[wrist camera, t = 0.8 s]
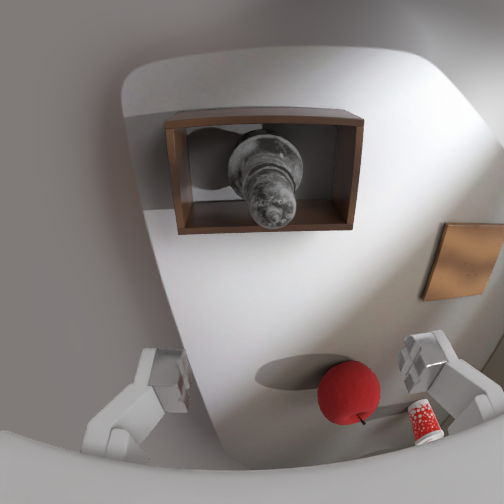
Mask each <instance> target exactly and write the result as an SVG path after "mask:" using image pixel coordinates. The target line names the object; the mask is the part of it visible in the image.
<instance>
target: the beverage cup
mask: <svg viewBox="0 0 504 504" xmlns="http://www.w3.org/2000/svg"><path fill="white" fill-rule="evenodd" d="M408 412H409V416H410V419H411V423H412V427H413V431H414V436H415V440H416V442H415V445H416V446H417V445H421V444H424V443H428V442H431V441H434V440H437V439H440V438H442V437H443V436H444V432H443V430H441V428H440V426H439V424H438V422H437V420H436V417H435V415H434V413H433V411H432V409H431V406H430V404H429V402H428V400H427V399H422V400H419V401H416V402H414V403H413V404H411V405H410V406H409V407H408Z"/></svg>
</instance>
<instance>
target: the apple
mask: <svg viewBox="0 0 504 504" xmlns="http://www.w3.org/2000/svg"><path fill="white" fill-rule="evenodd" d="M317 396H318V404H319V407H320V409H321V411H322V413H323V414H324V416H325V417H326V418H327V419H328V420H329V421H331V422H332V423H335V424H339V425H349V424H354V423H357V422H360V421H361V422H362V424H363V425H365V424H366V423H365V422H364V421H363V420H365V419H366V418H368V417H369V416H370V415H371V414H372V413H373V412H374V411H375V410H376V408H377V406H378V404H379V400H380V384H379V381H378V379H377V377H376V375H375V374H374V373H373V372H372V371H371V369H370V368H368V367H367V366H366V365H364V364H363V363H361V362H359V361H346V362H343V363H340V364H338V365H336V366H334V367H332V368H330V369H329V370H328V371H327V373H326V374H325V375H324V376H323V378H322V380H321V382H320V384H319V387H318V395H317Z"/></svg>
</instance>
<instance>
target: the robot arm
mask: <svg viewBox="0 0 504 504" xmlns="http://www.w3.org/2000/svg"><path fill="white" fill-rule="evenodd" d="M404 343H405V346H404V347H403V348H402V349H401V350H400V352H399V355H398V365H399V369H400V371H401V373H403V374H404V375H405V376H406V377H405V380H404V382H405V384H406V387H407V390H408V392H409V394H414V393H419V392H424V391H427V392H428V393H429V394H430V395H431V396H432V397H433V398H434V399H435V400H436V401H437V402H438V403H439V404H440V405H441V406H442V407H443V408H444V409H445V410H446V411H448V412H449V413H450V414H451V415H452V416H453V417H454V418H455V419H456V420H455V421H454V422H453V423H452V424H451V425H450V426H449V428H448V432H449V436H447V437H444V438H440V439H437V440H434V441H431V442H428V443H424V444H421V445H417V446H414V447H410V448H406V449H403V450H399V451H395V452H391V453H386V454H382V455H377V456H372V457H367V458H363V459H357V460H351V461H345V462H339V463H332V464H325V465H317V466H309V467H299V468H287V469H272V470H243V471H224V470H222V471H220V470H195V469H181V468H169V467H158V466H151V465H149V460H150V459H149V457H148V456H147V455H146V453H145V452H144V451H143V450H142V449H141V447H140V446H139V445H140V444H141V443H142V442H143V440H144V439H145V438H146V437H147V435H148V434H149V433H150V432H151V430H152V429H153V428H154V427H155V426H156V424H157V423H158V422H159V421H160V419H161V418H162V417H163V416H164V414H165V412H176V413H188V405H189V395H188V392H187V391H188V389H189V388H190V387H191V368H190V364H189V363H188V362H187V353H186V350H182V349H162V348H144V349H143V350H142V352H141V356H140V360H139V364H138V368H137V371H136V375H135V380H134V383H133V384H129V385H128V386H127V387H126V388H125V389H124V390H122V391H121V392H120V393H119V394H118V395H117V396H116V397H115V398H114V399H113V400H112V401H111V402H110V403H108V404H107V405H106V406H105V407H104V408H103V409H102V410H101V411H100V412H99V413H98V414H97V415H96V416H94V417H93V418H92V419H91V420H90V421H89V422H88V425H87V428H86V432H85V435H84V439H83V443H82V447H81V450H80V453H79V452H75V451H70V450H67V449H63V448H59V447H56V446H52V445H49V444H45V443H42V442H39V441H36V440H33V439H29V438H27V437H24V436H21V435H18V434H16V433H13V432H10V431H7V430H1V431H0V504H504V393H503V390H502V388H501V387H500V386H499V385H498V384H496V383H495V382H493V381H492V380H491V379H489V378H488V377H486V376H485V375H483V374H482V373H481V372H479V371H478V370H476V369H475V368H473V367H472V366H471V365H469V364H468V363H466V362H465V361H463V360H462V359H460V360H459V359H458V358H457V356H456V354H455V352H454V350H453V348H452V346H451V344H450V343H449V341H448V339H447V337H446V335H445V334H444V332H443V331H442V330H437V331H431V332H423V333H417V334H411V335H408V336H407V337H406V339H405V341H404Z"/></svg>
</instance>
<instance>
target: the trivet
mask: <svg viewBox="0 0 504 504" xmlns="http://www.w3.org/2000/svg"><path fill="white" fill-rule="evenodd" d="M503 241H504V224H479V223H445V227H444V231H443V234H442V238H441V241H440V245H439V248H438V251H437V255H436V258H435V261H434V264H433V267H432V270H431V273H430V276H429V279H428V282H427V285H426V288H425V291H424V293H423V296H422V300H423V301H431V300H440V299H448V298H456V297H464V296H471V295H478V294H482V293H483V291H484V289H485V287H486V284H487V282H488V280H489V277H490V275H491V273H492V270H493V268H494V265H495V263H496V260H497V257H498V255H499V252H500V249H501V247H502V244H503Z"/></svg>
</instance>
